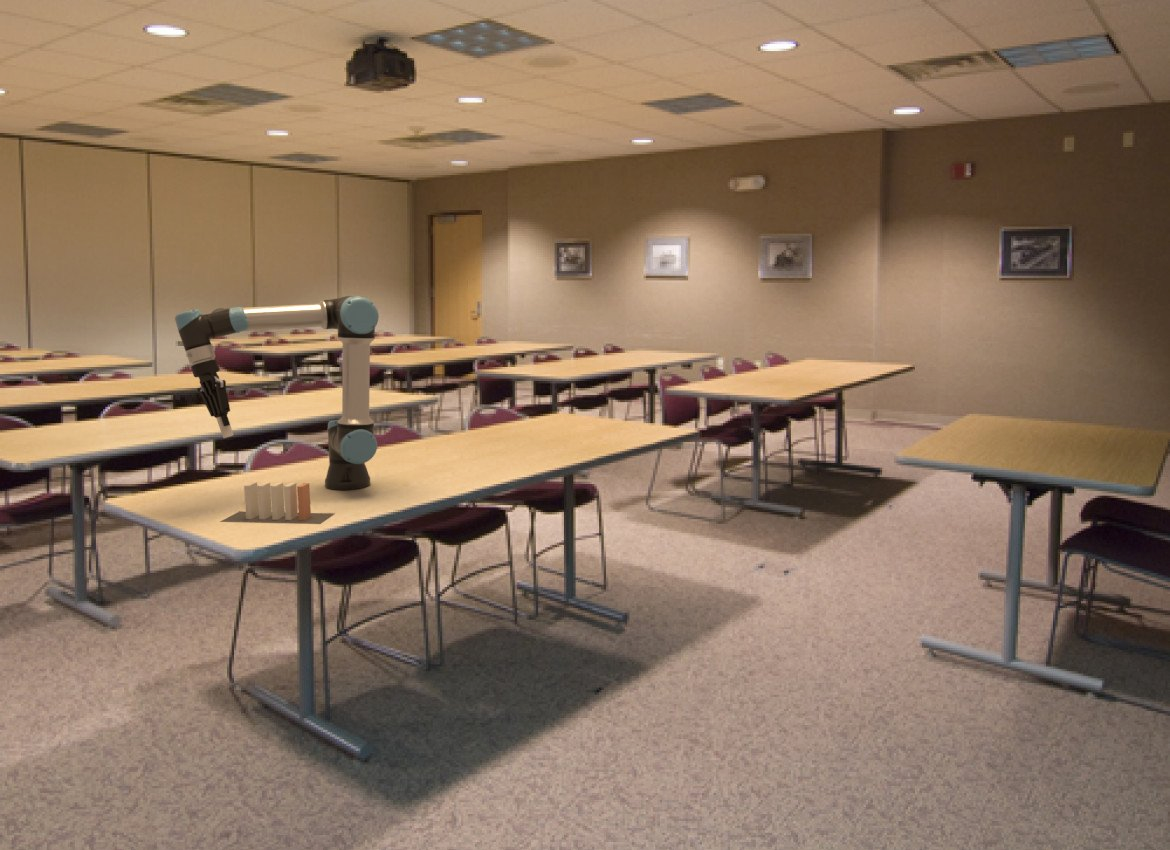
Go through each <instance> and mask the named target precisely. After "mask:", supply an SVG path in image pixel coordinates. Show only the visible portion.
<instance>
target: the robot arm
mask: <svg viewBox="0 0 1170 850" xmlns="http://www.w3.org/2000/svg"><path fill="white" fill-rule="evenodd" d="M378 311H379V310H378V309H377V307H376V305H375V304H374V302H372V301H371V300H370V299H368V298H367V297H365V296H360V295H347V296H342V297H338V298H332V299H323V300H322V299H321V300H320V301H319V302H318V303H302V304H288V305H287V304H286V305H284V304H283V305H267V306H252V307H251V306H249V307H246V306H245V307H242V306H236V307H230V308H221V307H220V308H216V309H214V310H212V312H211V313H206V314H203V313H202V312H201V310H199V309H192V310H187V311H183V312H180V313H178V314H176V315H175V317H174V320H175V323H176V327H177V331H178V334H179V337H180V340H181V341H182V345H183V348H184V351H185V353H186V354H185V355H186V357H187V359H188V363H189V364H190V365H191V366H190V369H191V372H192V375H193V377H194V378H198V379H199V384H200V387H197V392H198V393H199V395H200V396H201V398H202V401H203V402H204V405H205V406H206V408H207V410H208V413H209V415H210V417H214V418H215V419H216V422H217V423H218V428H219V429H220V432H221V436H222V438H223V439H226V438H229V437H232V436H234V432H233V429H232V427H231V422H230V421H229V417H228V414H229V412H231V407H230V403H229V398H228V393H227V392H228V391H227V387H226V386H227V385H226V383H227V381H226V380H225V379H220V376H219V375H218V374H217V373H218V372H220V371H221V370H220V366H219V363H218V360H217V359H215V358H216V354H215V351H214V347H213V345H212V343H211V340H212V339H213V340H214V339H216V338H217V339H218V338H221V337H224V336H225V337H226V336H229V335H232V334H233V335H234V334H236V333H237V334H239V333H241V332H252V331H254V332H255V331H271V330H284V329H285V330H286V329H287V330H288V329H300V328H301V329H302V328H303V329H304V328H305V329H306V328H317V327H321V328H322V329H323V330H337V339H338V340H339V341H340V342H341V343H342V387H341V388H342V392H341V393H342V395H341V396H342V397H341V398H342V399H341V400H342V402H341V403H342V404H341V405H342V407H341V409H342V412H341V414H342V416H341V417H340V418H339V419H336V420H335V419H334V420H329V421H328V422H327V429H326V430H327V438H328V439H327V440H328V457H329V458H328V460H329V461H328V463H329V465H328V469H327V472H326V477H325V479H324V487H325V489H326V488H327V489H330V490H336V491H338V490H339V491H343V490H344V491H345V490H346V491H348V490H357V489H363V488H366V487H369V486H370V485H371V477H370V475H369V471H368V468H367V466H366V463H367V462H369V461H370V460H372V459H373V458H374V456H375V455H376V453H377V450H378V442H377V438H376V436H375V421H374V420H373V419H372V417H370V381H371V380H370V378H371V377H370V375H371V374H370V369H371V368H370V367H371V364H370V363H371V359H370V357H371V356H370V355H371V354H370V353H371V343H372V342H373V341H374V340H375V339H376V337H375V336H376V334H375V333H376V327H377V325H378V322H379V318H380V317H379V312H378Z"/></svg>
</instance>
